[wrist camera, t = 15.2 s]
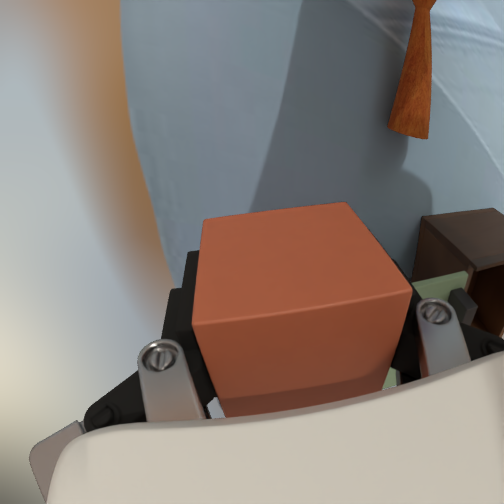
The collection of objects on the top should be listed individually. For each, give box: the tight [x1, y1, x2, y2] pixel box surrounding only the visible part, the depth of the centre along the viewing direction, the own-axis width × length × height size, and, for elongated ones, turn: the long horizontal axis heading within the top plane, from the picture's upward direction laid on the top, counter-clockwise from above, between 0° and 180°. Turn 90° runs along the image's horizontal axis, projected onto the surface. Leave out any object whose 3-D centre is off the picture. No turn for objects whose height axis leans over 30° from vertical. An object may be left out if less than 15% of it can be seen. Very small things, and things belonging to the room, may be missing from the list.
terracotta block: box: [192, 202, 413, 418], centre depth 10 cm, size 5×5×5 cm
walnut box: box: [411, 208, 504, 337], centre depth 26 cm, size 14×11×9 cm
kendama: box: [387, 0, 436, 139], centre depth 15 cm, size 6×6×20 cm
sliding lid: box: [382, 271, 478, 389], centre depth 22 cm, size 12×11×3 cm
